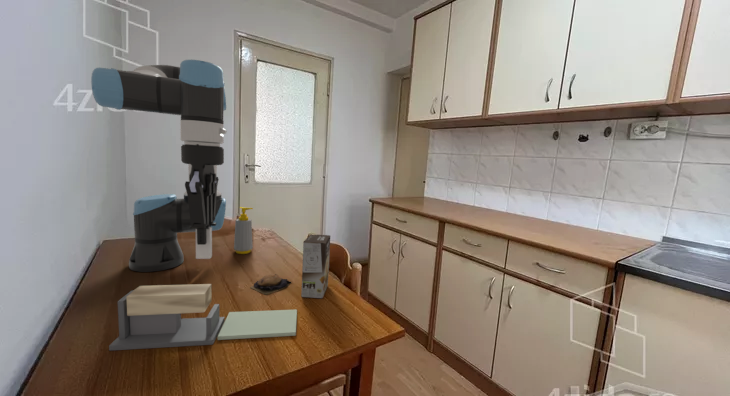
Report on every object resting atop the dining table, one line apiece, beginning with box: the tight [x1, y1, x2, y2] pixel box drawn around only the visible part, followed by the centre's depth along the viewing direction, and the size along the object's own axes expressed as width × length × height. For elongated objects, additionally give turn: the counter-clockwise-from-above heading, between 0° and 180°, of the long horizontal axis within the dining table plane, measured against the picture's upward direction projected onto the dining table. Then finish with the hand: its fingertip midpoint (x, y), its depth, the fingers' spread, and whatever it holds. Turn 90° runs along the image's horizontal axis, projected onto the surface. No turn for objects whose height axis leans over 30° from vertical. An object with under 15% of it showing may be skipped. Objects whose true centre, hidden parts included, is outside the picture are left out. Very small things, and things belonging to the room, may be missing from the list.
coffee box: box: [300, 233, 331, 299], centre depth 88 cm, size 9×6×16 cm
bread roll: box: [249, 273, 292, 295], centre depth 90 cm, size 11×8×4 cm
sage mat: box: [217, 308, 298, 341], centre depth 69 cm, size 10×16×1 cm, turn 101°
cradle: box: [108, 289, 225, 351], centre depth 63 cm, size 9×18×9 cm, turn 101°
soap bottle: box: [233, 206, 254, 255], centre depth 118 cm, size 7×7×18 cm
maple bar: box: [126, 283, 212, 316], centre depth 63 cm, size 5×14×4 cm, turn 102°
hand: (204, 257), depth 63 cm, fingers closed
